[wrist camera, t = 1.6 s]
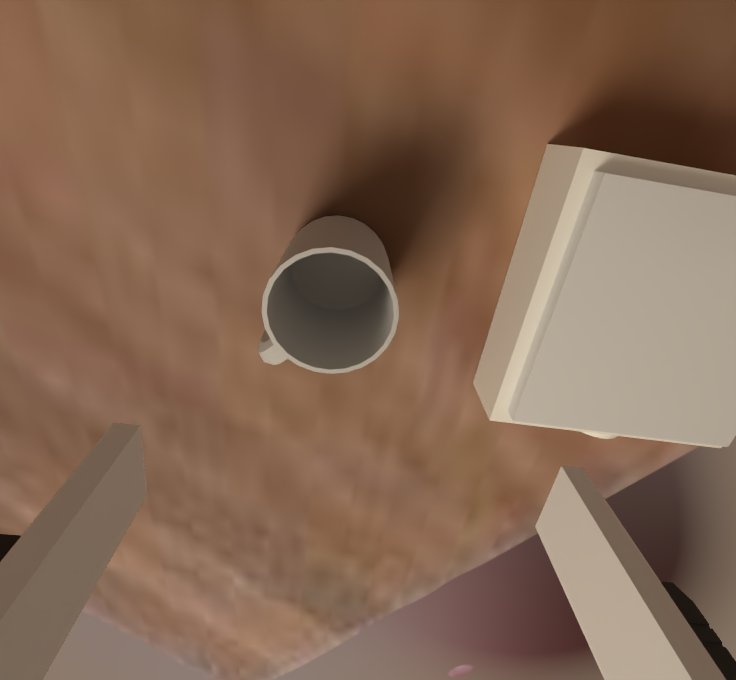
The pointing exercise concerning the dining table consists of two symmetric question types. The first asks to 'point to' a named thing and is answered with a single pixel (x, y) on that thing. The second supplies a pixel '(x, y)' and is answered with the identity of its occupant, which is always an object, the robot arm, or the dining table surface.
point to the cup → (330, 299)
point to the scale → (619, 303)
